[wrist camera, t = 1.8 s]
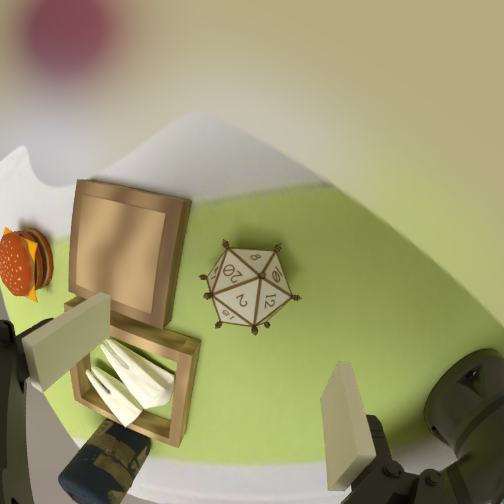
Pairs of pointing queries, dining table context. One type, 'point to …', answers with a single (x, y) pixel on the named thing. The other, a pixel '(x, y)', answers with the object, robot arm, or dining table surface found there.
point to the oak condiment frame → (154, 342)
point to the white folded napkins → (131, 383)
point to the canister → (105, 465)
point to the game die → (248, 286)
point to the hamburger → (25, 262)
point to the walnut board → (127, 248)
